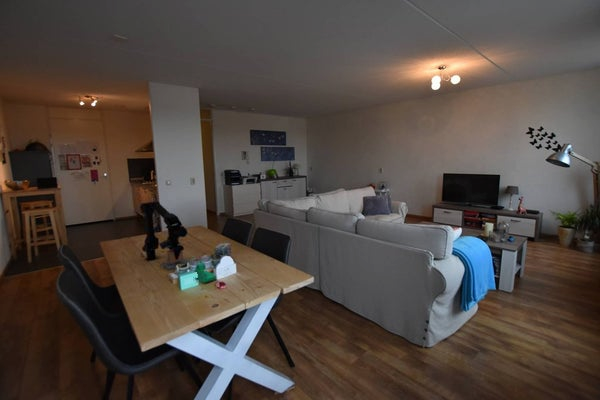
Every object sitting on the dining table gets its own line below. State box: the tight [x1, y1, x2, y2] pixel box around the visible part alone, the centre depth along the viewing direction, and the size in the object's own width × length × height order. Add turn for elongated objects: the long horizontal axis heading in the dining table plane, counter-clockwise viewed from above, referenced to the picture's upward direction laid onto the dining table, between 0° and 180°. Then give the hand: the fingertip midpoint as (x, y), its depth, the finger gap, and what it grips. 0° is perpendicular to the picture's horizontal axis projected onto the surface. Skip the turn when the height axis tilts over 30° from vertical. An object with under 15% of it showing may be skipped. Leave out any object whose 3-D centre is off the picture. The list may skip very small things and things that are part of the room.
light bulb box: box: [214, 242, 232, 257], centre depth 190 cm, size 11×7×11 cm, turn 168°
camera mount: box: [194, 262, 217, 283], centre depth 162 cm, size 12×8×10 cm, turn 47°
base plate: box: [160, 257, 189, 271], centre depth 186 cm, size 14×14×4 cm
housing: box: [166, 249, 184, 263], centre depth 185 cm, size 5×8×7 cm, turn 131°
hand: (175, 258), depth 186 cm, fingers closed on housing, 5 cm apart
